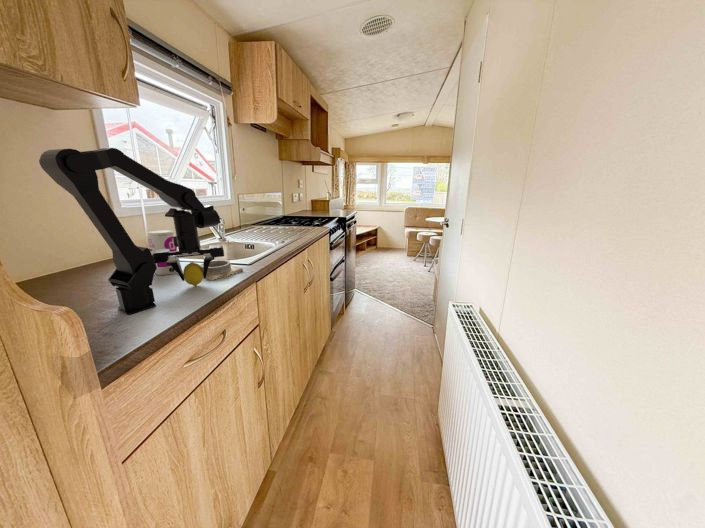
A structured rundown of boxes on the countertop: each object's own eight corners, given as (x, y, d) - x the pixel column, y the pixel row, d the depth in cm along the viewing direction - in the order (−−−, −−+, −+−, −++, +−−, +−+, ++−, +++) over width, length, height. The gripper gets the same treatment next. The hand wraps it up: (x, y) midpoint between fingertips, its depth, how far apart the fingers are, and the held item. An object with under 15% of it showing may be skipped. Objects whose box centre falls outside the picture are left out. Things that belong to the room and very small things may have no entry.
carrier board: (212, 280, 94) (210, 268, 92) (188, 272, 101) (186, 261, 100) (243, 271, 103) (241, 260, 102) (219, 264, 111) (217, 254, 110)
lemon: (199, 289, 86) (195, 264, 83) (181, 289, 86) (177, 264, 84) (208, 283, 91) (205, 259, 89) (192, 282, 91) (188, 259, 89)
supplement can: (186, 269, 105) (179, 230, 100) (168, 276, 97) (160, 234, 93) (167, 267, 106) (160, 229, 102) (148, 274, 98) (139, 233, 94)
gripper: (219, 225, 94) (225, 268, 99) (153, 228, 86) (162, 276, 91) (221, 230, 85) (227, 278, 89) (147, 234, 77) (157, 287, 81)
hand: (194, 279), depth 88 cm, fingers closed on lemon, 5 cm apart
